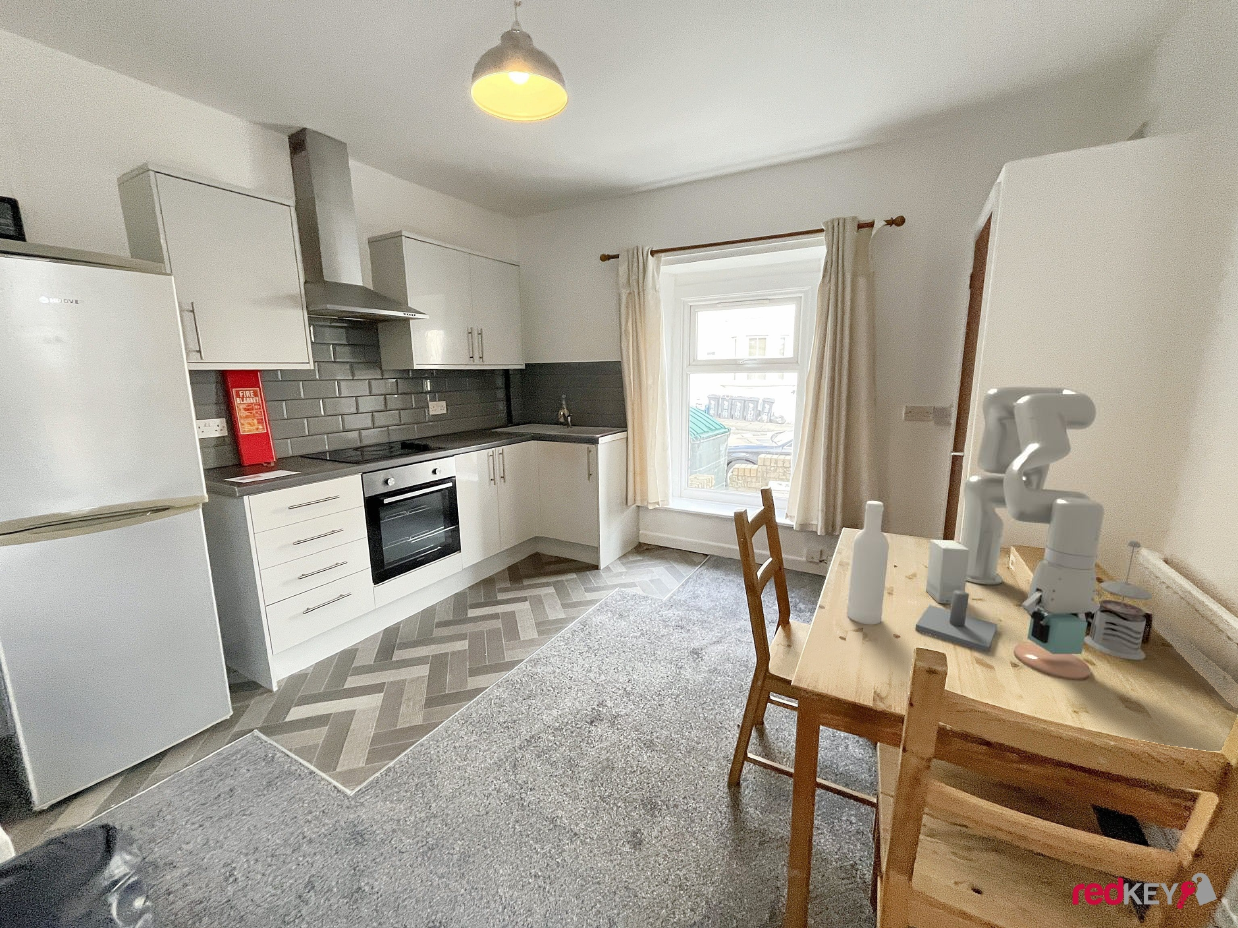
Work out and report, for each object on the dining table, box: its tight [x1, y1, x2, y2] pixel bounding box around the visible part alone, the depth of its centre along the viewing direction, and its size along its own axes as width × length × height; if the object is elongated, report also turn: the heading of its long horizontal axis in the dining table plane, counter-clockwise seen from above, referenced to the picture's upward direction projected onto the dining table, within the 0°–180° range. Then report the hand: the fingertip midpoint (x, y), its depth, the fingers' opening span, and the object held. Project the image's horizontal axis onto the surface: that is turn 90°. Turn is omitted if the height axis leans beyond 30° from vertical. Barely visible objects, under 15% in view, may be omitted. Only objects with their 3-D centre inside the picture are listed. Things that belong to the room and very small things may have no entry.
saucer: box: [1013, 642, 1091, 681], centre depth 101 cm, size 12×12×1 cm
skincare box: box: [925, 539, 969, 605], centre depth 130 cm, size 8×7×16 cm
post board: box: [915, 590, 998, 654], centre depth 113 cm, size 14×14×10 cm
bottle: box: [846, 500, 890, 626], centre depth 118 cm, size 8×8×30 cm
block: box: [1027, 611, 1088, 655], centre depth 100 cm, size 6×6×7 cm
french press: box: [1084, 540, 1153, 660], centre depth 105 cm, size 10×12×25 cm
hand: (1054, 638), depth 100 cm, fingers closed on block, 5 cm apart
